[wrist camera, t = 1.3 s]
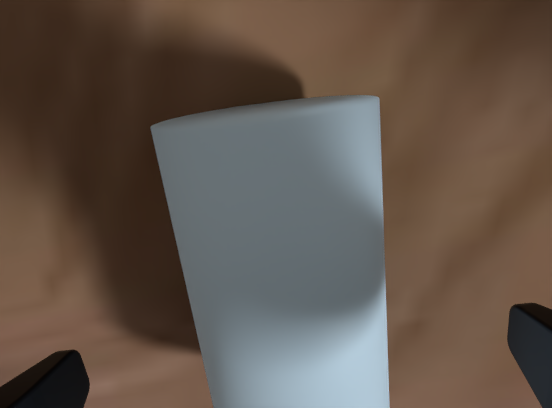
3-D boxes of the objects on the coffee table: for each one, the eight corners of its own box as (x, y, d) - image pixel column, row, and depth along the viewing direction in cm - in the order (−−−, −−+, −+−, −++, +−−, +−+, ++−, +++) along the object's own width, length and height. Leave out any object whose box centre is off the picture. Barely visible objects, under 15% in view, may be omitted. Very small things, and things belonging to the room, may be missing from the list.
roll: (367, 349, 14) (416, 494, 9) (230, 363, 14) (207, 512, 9) (353, 91, 11) (414, 105, 6) (181, 113, 11) (110, 142, 6)
